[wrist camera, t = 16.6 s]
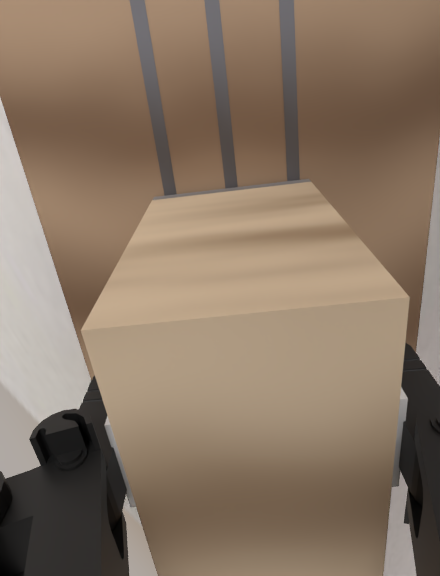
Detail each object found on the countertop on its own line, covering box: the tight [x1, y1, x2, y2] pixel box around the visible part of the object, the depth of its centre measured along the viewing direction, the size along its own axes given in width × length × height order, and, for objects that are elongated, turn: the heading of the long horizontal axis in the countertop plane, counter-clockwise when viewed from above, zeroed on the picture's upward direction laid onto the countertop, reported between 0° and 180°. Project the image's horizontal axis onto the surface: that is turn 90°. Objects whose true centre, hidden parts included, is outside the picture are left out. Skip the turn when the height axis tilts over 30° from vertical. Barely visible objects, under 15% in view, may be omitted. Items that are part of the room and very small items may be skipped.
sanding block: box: [81, 179, 410, 576], centre depth 12 cm, size 9×5×8 cm, turn 7°
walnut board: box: [0, 0, 440, 380], centre depth 13 cm, size 24×13×2 cm, turn 7°
